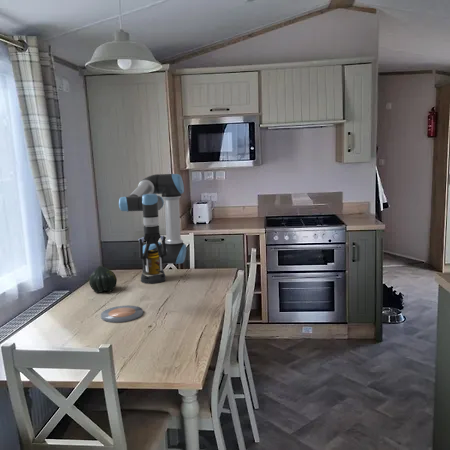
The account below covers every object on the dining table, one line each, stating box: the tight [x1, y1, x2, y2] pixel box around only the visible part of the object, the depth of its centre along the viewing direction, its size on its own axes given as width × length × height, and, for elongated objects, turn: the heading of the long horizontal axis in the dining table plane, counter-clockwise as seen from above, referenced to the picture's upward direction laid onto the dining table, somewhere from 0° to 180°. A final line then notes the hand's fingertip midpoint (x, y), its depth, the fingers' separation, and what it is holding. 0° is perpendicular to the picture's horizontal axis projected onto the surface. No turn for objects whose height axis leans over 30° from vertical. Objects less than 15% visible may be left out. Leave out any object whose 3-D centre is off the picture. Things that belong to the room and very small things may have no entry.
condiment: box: [141, 249, 163, 276], centre depth 226 cm, size 7×8×12 cm
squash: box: [88, 265, 118, 293], centre depth 260 cm, size 14×15×15 cm
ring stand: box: [100, 304, 144, 323], centre depth 221 cm, size 20×20×1 cm
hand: (153, 270), depth 227 cm, fingers closed on condiment, 6 cm apart
